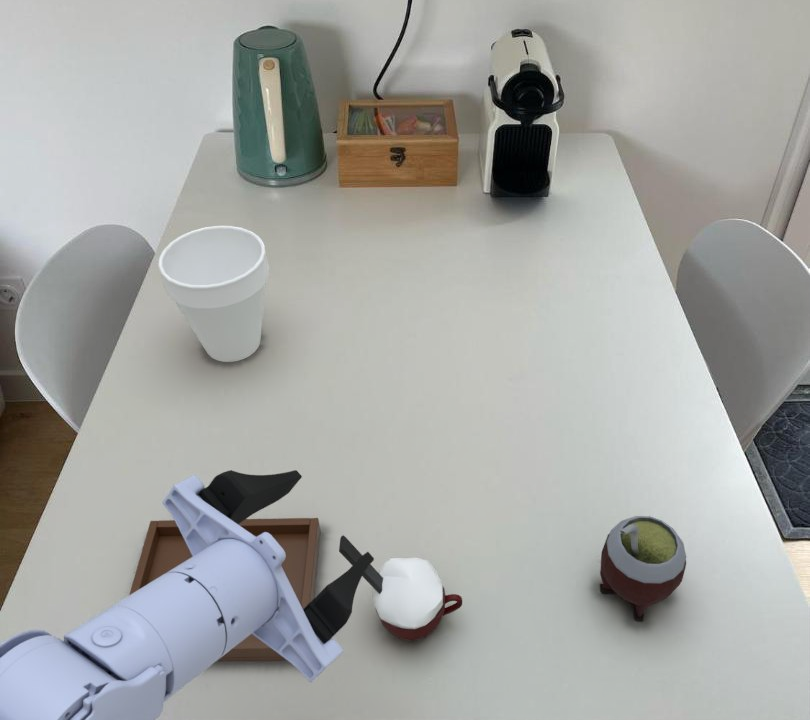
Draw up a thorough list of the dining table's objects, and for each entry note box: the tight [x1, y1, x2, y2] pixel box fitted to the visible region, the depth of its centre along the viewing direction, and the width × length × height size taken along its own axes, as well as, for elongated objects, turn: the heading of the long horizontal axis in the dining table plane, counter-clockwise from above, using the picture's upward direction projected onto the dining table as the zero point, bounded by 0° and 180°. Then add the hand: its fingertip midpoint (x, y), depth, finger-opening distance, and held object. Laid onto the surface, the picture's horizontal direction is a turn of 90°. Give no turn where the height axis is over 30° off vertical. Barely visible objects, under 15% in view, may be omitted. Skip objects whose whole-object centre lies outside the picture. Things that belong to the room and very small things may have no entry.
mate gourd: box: [599, 515, 687, 623], centre depth 69 cm, size 8×8×15 cm
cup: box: [157, 225, 270, 363], centre depth 97 cm, size 12×12×14 cm
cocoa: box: [338, 534, 463, 642], centre depth 69 cm, size 10×6×12 cm, turn 66°
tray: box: [129, 517, 322, 662], centre depth 75 cm, size 17×14×2 cm
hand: (327, 521), depth 57 cm, fingers open, 7 cm apart
